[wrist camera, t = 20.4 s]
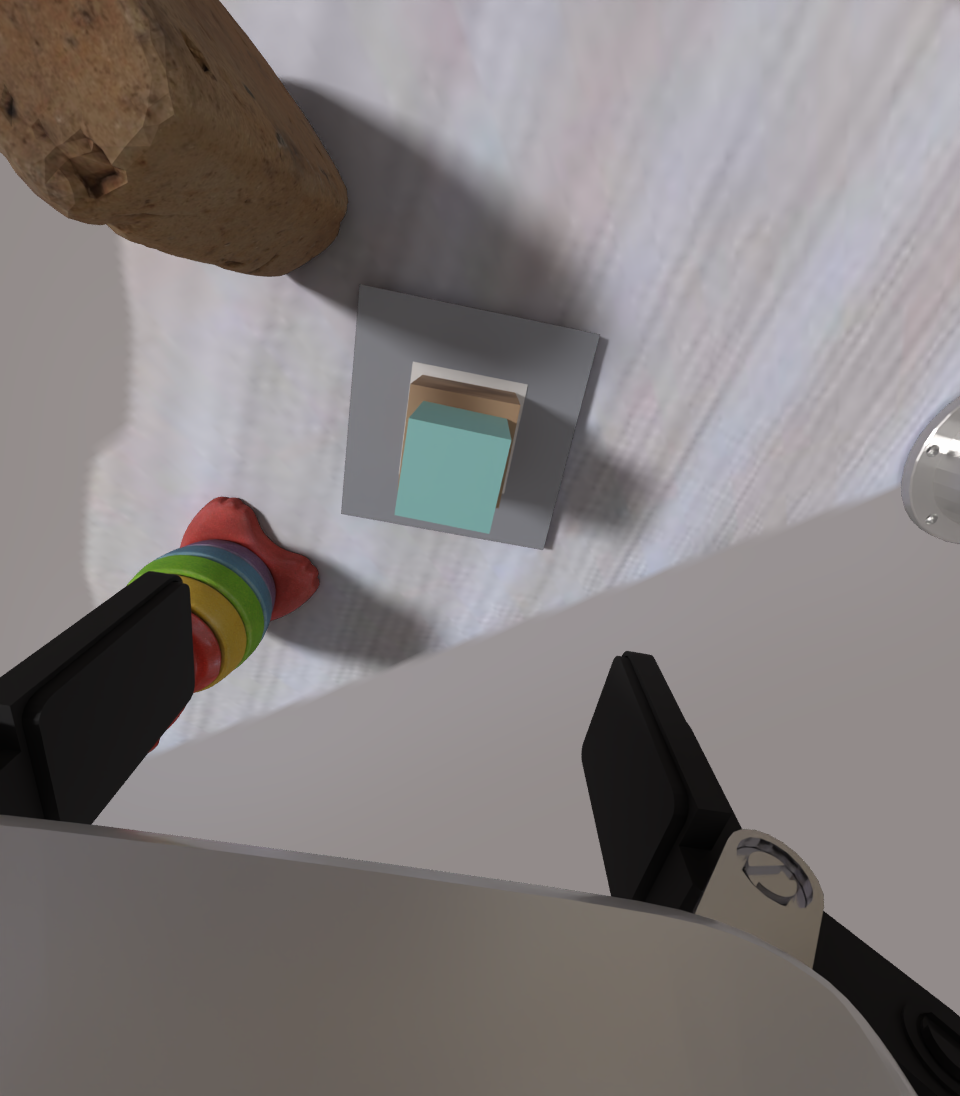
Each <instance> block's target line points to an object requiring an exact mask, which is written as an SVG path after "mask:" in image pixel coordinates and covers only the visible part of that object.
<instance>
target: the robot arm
mask: <svg viewBox="0 0 960 1096" xmlns="http://www.w3.org/2000/svg"><path fill="white" fill-rule="evenodd" d="M901 496H902V500H903V503H904V507H905V510H906V512H907V513H908V515H909V517H910V519H911V520H912V521H913V522H914V523H915V524H916V525H917V526H918V527H919V528H920V529H921V530H923V531H925V532H927V533H928V534H930V535H932V536H934V537H937V538H939V539H942V540H944V541H946V542H951V543H957V544H960V396H959V397H958V398H956V399H955V400H954V401H952V402H951V403H949V404H948V405H947V406H946V407H945V408H944V409H943V410H942V411H940V412H939V413H938V414H937V415H936V416H935V417H934V418H933V419H932V420H931V421H930V423H929V424H928V425H927V426H926V428H925V429H924V430H923V431H922V433H921V434H920V435H919V437H918V439H917V440H916V442H915V444H914V445H913V447H912V449H911V451H910V453H909V456H908V458H907V461H906V463H905V466H904V470H903V476H902V481H901ZM194 688H195V672H194V654H193V635H192V616H191V598H190V588H189V586H188V585H187V584H185V583H183V581H182V579H181V577H180V576H178V575H172V574H167V573H161V572H155V571H148V572H146V573H144V574H143V575H141V576H140V577H139V578H137V579H136V580H134V581H133V582H132V583H130V584H129V585H127V586H126V587H125V588H123V589H122V590H121V591H119V592H118V593H116V594H115V595H114V596H112V597H111V598H109V599H108V600H107V601H105V602H104V603H103V604H101V605H100V606H98V607H97V608H96V609H94V610H93V611H91V612H90V613H89V614H87V615H86V616H85V617H83V618H82V619H80V620H79V621H78V622H76V623H75V624H74V625H72V626H71V627H69V628H68V629H67V630H65V631H64V632H62V633H61V634H60V635H58V636H57V637H56V638H54V639H53V640H51V641H50V642H49V643H47V644H46V645H45V646H43V647H42V648H40V649H39V650H38V651H36V652H35V653H33V654H32V655H31V656H29V657H28V658H27V659H25V660H24V661H22V662H21V663H20V664H18V665H17V666H15V667H14V668H13V669H11V670H10V671H9V672H7V673H6V674H4V675H3V676H2V677H0V1096H960V1017H959V1016H958V1015H957V1014H956V1013H955V1012H953V1010H951V1009H950V1008H949V1007H947V1006H946V1005H945V1004H943V1003H942V1002H941V1001H940V1000H938V999H937V998H935V997H934V996H933V995H932V994H930V993H929V992H928V991H927V990H925V989H924V988H923V987H921V986H920V985H919V984H918V983H916V982H915V981H914V980H912V979H911V978H910V977H908V976H907V975H906V974H905V973H903V972H902V971H901V970H899V969H898V968H897V967H896V966H894V965H893V964H892V963H890V962H889V961H888V960H886V959H885V958H883V956H881V955H880V954H879V953H877V952H876V951H875V950H873V949H872V948H871V947H869V946H868V945H867V944H866V943H864V942H863V941H862V940H860V939H859V938H858V937H857V936H855V935H854V934H852V933H851V932H850V931H849V930H848V929H846V928H845V927H844V926H842V925H841V924H840V923H838V922H837V921H836V920H835V919H833V918H832V917H831V916H829V915H828V914H827V913H825V912H824V911H823V909H824V894H823V891H822V889H821V887H820V884H819V881H818V879H817V878H816V876H815V875H814V873H813V872H812V870H811V869H810V867H809V866H808V865H807V864H806V863H805V862H804V861H803V859H802V858H801V857H800V856H799V855H798V854H797V853H796V852H794V851H793V850H792V849H791V848H789V847H788V846H787V845H785V844H784V843H783V842H781V841H779V840H778V839H776V838H774V837H772V836H770V835H769V834H766V833H763V832H760V831H757V830H749V829H742V828H741V826H740V824H739V822H738V820H737V818H736V816H735V814H734V812H733V810H732V808H731V806H730V804H729V802H728V800H727V799H726V796H725V794H724V793H723V790H722V788H721V787H720V785H719V783H718V781H717V779H716V777H715V775H714V773H713V771H712V769H711V767H710V765H709V763H708V761H707V759H706V757H705V755H704V753H703V751H702V749H701V747H700V745H699V743H698V741H697V739H696V737H695V735H694V733H693V731H692V729H691V728H690V726H689V725H688V723H687V722H686V720H685V718H684V716H683V714H682V712H681V711H680V708H679V706H678V705H677V702H676V700H675V698H674V696H673V694H672V692H671V690H670V689H669V686H668V685H667V683H666V681H665V679H664V677H663V675H662V673H661V671H660V669H659V667H658V665H657V663H656V661H655V659H654V657H653V656H652V655H648V654H642V653H636V652H630V651H626V652H624V653H623V655H622V657H621V656H616V657H615V658H614V660H613V662H612V665H611V668H610V671H609V674H608V676H607V679H606V682H605V685H604V687H603V690H602V693H601V696H600V698H599V701H598V704H597V707H596V709H595V712H594V715H593V718H592V720H591V723H590V726H589V729H588V732H587V734H586V737H585V740H584V742H583V746H582V763H583V769H584V773H585V777H586V782H587V787H588V792H589V796H590V801H591V805H592V810H593V814H594V819H595V823H596V828H597V833H598V838H599V842H600V847H601V851H602V855H603V860H604V865H605V870H606V875H607V879H608V884H609V888H610V893H611V896H605V895H598V894H592V893H586V892H580V891H573V890H567V889H561V888H555V887H548V886H541V885H533V884H527V883H520V882H513V881H506V880H499V879H491V878H485V877H477V876H470V875H463V874H455V873H449V872H442V871H434V870H428V869H421V868H414V867H406V866H399V865H392V864H385V863H377V862H370V861H363V860H355V859H348V858H341V857H333V856H326V855H318V854H310V853H304V852H296V851H289V850H282V849H274V848H266V847H259V846H251V845H244V844H237V843H229V842H221V841H214V840H205V839H198V838H191V837H183V836H175V835H167V834H159V833H152V832H144V831H136V830H129V829H121V828H113V827H105V826H98V825H91V824H92V823H93V822H94V820H95V819H96V818H97V817H98V815H99V814H100V813H101V812H102V810H103V809H104V808H105V807H106V805H107V804H108V803H109V802H110V800H111V799H112V798H113V797H114V795H115V794H116V793H117V792H118V790H119V789H120V788H121V786H122V785H123V784H124V783H125V781H126V780H127V779H128V778H129V776H130V775H131V774H132V773H133V771H134V770H135V769H136V767H137V766H138V765H139V764H140V763H141V761H142V760H143V759H144V758H145V756H146V755H147V754H148V752H149V751H150V750H151V749H152V747H153V746H154V745H155V744H156V742H157V741H158V740H159V739H160V737H161V736H162V735H163V734H164V732H165V731H166V730H167V729H168V727H169V726H170V725H171V723H172V722H173V721H174V720H175V718H176V717H177V716H178V715H179V713H180V712H181V711H182V710H183V708H184V707H185V706H186V705H187V703H188V702H189V700H190V699H191V697H192V695H193V692H194Z"/></svg>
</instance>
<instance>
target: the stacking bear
mask: <svg viewBox="0 0 960 1096" xmlns="http://www.w3.org/2000/svg"><path fill="white" fill-rule="evenodd" d="M148 571H155V572H161V573H167V574H172V575H178V576H180V577H181V579H182V581H183V583H185V584H187V585H188V586H189V588H190V598H191V616H192V635H193V654H194V672H195V688H194V692H193V693H195V692H199V691H203V690H205V689H208V688H210V687H212V686H213V685H215V684H217V683H218V682H219V681H221V680H222V679H223V678H225V677H226V676H227V675H228V674H230V673H231V672H232V671H233V670H234V669H236V668H237V667H239V666H240V665H241V664H242V663H243V662H244V661H245V660H246V659H247V658H248V657H249V656H250V655H251V654H252V653H253V652H254V650H255V649H256V648H257V646H258V645H259V643H260V642H261V640H262V639H263V637H264V635H265V632H266V630H267V628H268V625H269V623H270V621H272V620H275V619H278V618H280V617H283V616H285V615H287V614H289V613H290V612H292V611H294V610H296V609H297V608H298V607H300V606H301V605H302V604H303V603H305V602H306V601H307V600H308V599H309V598H310V597H311V596H312V595H313V594H314V593H315V591H316V590H317V588H318V586H319V579H318V574H319V573H318V570H317V568H316V567H315V566H313V565H312V564H311V562H310V560H309V559H307V558H306V557H304V556H302V555H300V554H296V553H293V552H289V551H287V550H284V549H282V548H280V547H279V546H277V545H276V544H274V543H273V542H272V541H271V540H270V539H269V538H268V537H267V536H266V535H265V534H264V533H263V531H262V530H261V527H260V525H259V523H258V520H257V518H256V515H255V513H254V512H253V510H252V509H251V508H250V507H248V506H247V505H245V504H243V503H242V501H241V500H240V499H238V498H226V497H218V498H215V499H213V500H212V501H210V502H209V503H208V504H207V505H206V506H204V507H203V508H202V509H201V510H200V511H199V513H198V514H197V515H196V516H195V517H194V519H193V520H192V521H191V523H190V524H189V526H188V528H187V530H186V532H185V534H184V536H183V539H182V542H181V546H180V548H179V549H176V550H173V551H171V552H169V553H167V554H165V555H163V556H161V557H159V558H157V559H156V560H154V561H153V562H151V563H149V564H148V565H146V566H145V567H144V568H143V569H141V570H140V571H139V572H138V573H137V574H136V575H135V576H134V578H133V579H132V580H131V581H130V582H129V583H128V584H127V585H129V584H130V583H132V582H133V581H134V580H136V579H137V578H139V577H140V576H141V575H143V574H144V573H146V572H148ZM184 708H185V707H184ZM184 708H183V710H184ZM183 710H182V711H183ZM182 711H181V712H180V713H179V715H178V716H177V717H176V718H175V720H174V721H173V722H172V723H171V725H172V724H173V723H174V722H175V721H176V720H177V718H178V717H179V716H180V714H181V713H182ZM171 725H170V726H171ZM170 726H169V727H170ZM169 727H168V728H169ZM159 740H160V739H159ZM159 740H158V741H157V742H156V744H155V745H154V746H153V747H152V749H151V750H150V751H149V752H151V751H152V750H153V749H155V747H156V746H157V745H158V743H159ZM149 752H148V753H149Z"/></svg>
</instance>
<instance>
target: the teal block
mask: <svg viewBox="0 0 960 1096" xmlns="http://www.w3.org/2000/svg"><path fill="white" fill-rule="evenodd" d="M510 444H511V436H510V431H509V426H508V421H507V419H506V418H501V417H496V416H492V415H487V414H483V413H478V412H473V411H469V410H464V409H459V408H455V407H450V406H446V405H441V404H436V403H432V402H427V401H423V402H422V403H421V404H420V405H419V407H418V408H417V409H416V410H415V411H414V412H413V414H412V415H411V416H410V417H409V420H408V427H407V433H406V440H405V447H404V454H403V460H402V467H401V474H400V480H399V487H398V494H397V501H396V507H395V514H394V515H397V516H402V517H407V518H412V519H417V520H422V521H427V522H432V523H437V524H442V525H447V526H452V527H457V528H462V529H467V530H472V531H477V532H482V533H487V534H489V533H490V529H491V525H492V521H493V516H494V512H495V508H496V504H497V499H498V495H499V491H500V487H501V482H502V478H503V474H504V470H505V465H506V461H507V457H508V452H509V448H510Z"/></svg>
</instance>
